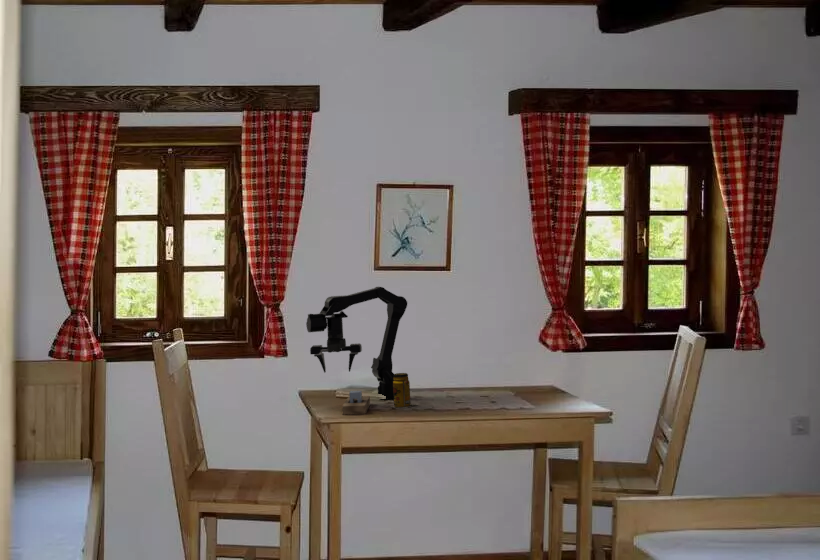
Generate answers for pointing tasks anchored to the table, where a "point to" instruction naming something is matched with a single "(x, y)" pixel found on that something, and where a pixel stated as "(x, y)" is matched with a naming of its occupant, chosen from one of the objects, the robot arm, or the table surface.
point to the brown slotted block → (356, 406)
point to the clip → (355, 396)
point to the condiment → (401, 391)
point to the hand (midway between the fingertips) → (337, 372)
